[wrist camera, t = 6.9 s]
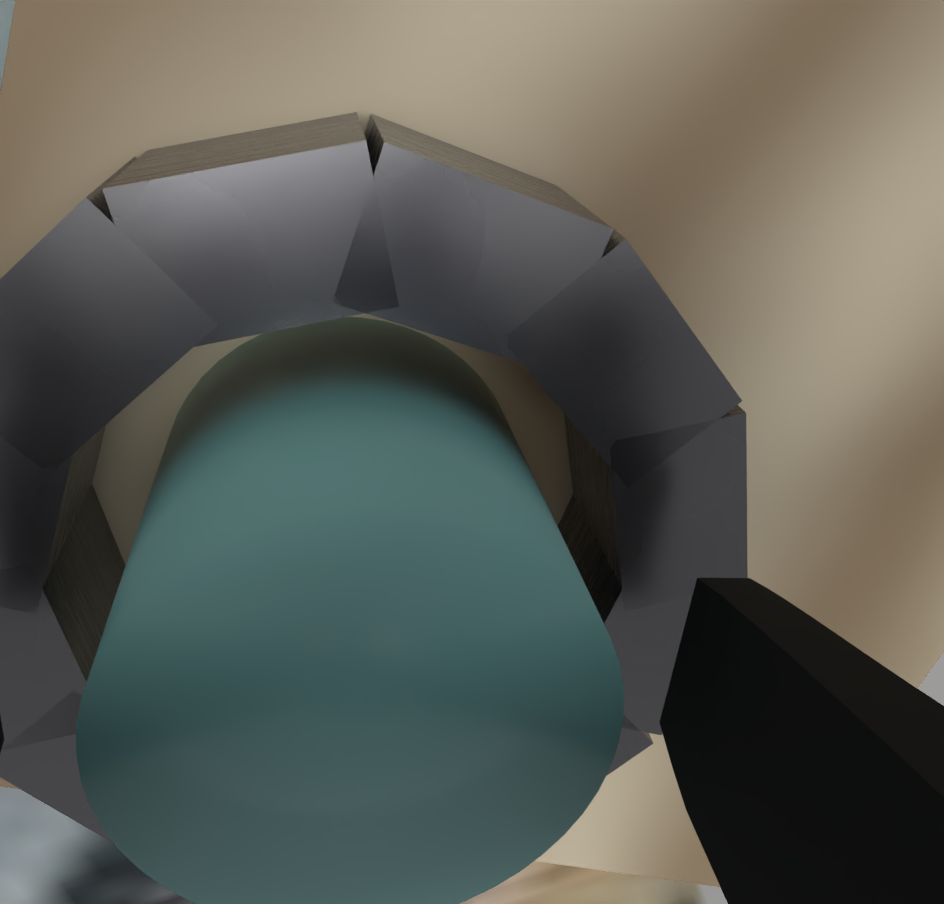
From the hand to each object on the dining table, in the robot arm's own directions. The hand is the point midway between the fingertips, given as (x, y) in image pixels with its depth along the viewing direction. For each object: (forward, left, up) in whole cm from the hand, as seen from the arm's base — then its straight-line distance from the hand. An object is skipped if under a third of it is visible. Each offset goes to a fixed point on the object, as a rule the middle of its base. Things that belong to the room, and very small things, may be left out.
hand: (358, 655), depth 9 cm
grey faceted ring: (0, 0, -4) cm, 4 cm away
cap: (0, 0, -4) cm, 4 cm away
